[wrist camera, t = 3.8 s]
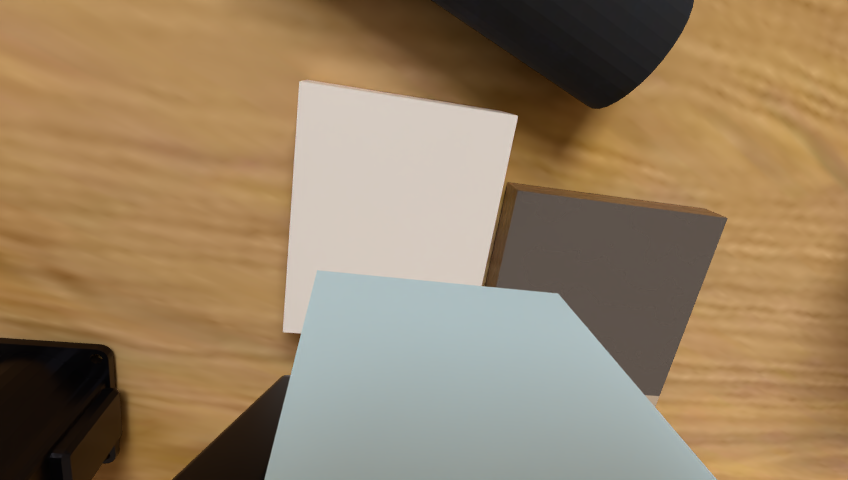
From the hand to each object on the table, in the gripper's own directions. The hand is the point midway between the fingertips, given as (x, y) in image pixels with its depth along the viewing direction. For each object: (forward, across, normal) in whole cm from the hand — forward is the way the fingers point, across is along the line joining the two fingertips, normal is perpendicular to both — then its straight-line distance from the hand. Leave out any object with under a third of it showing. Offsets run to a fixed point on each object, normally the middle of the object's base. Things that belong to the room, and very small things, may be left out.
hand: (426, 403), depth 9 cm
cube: (0, 0, 0) cm, 0 cm away
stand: (+13, 0, 0) cm, 13 cm away
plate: (+13, -10, +8) cm, 18 cm away
